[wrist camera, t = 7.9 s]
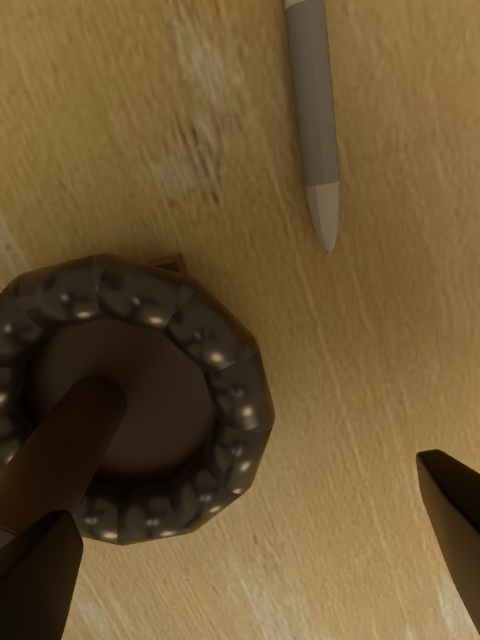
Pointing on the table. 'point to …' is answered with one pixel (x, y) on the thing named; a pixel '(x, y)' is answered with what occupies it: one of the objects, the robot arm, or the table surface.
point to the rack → (103, 416)
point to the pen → (315, 114)
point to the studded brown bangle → (190, 338)
